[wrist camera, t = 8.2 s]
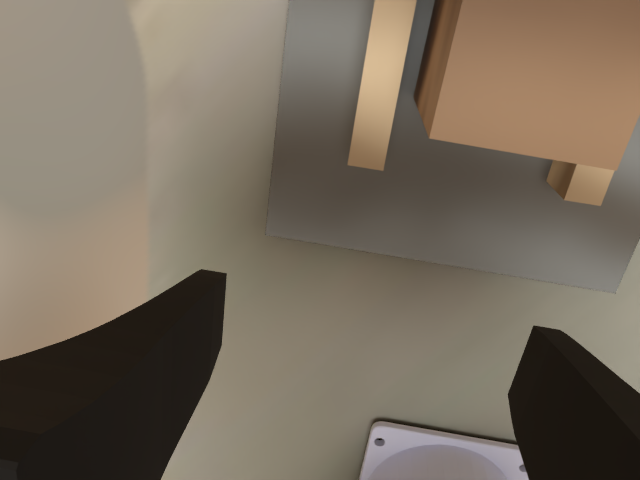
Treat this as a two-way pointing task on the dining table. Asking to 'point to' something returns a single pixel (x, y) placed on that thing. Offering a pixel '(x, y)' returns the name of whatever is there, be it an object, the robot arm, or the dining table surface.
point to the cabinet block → (533, 77)
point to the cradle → (427, 164)
